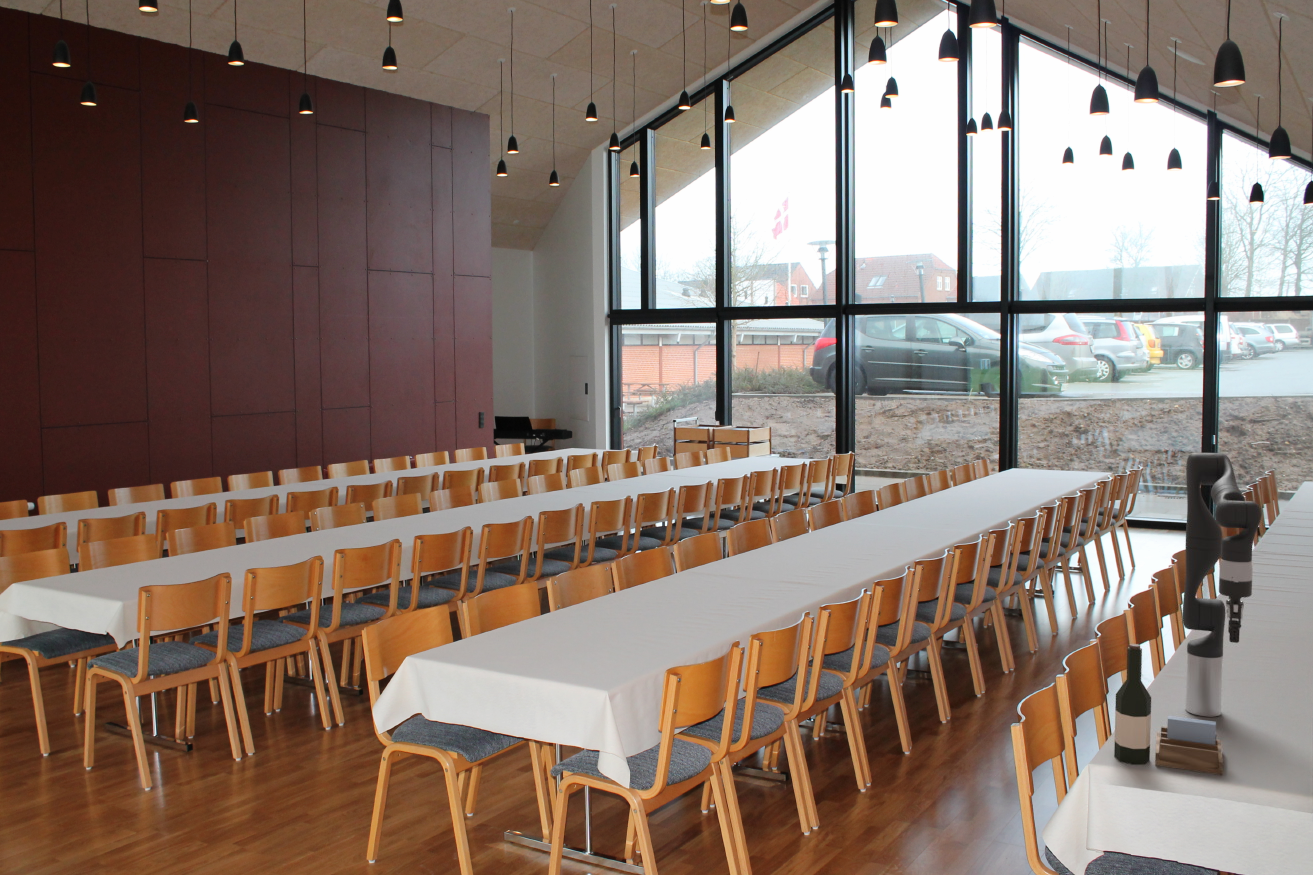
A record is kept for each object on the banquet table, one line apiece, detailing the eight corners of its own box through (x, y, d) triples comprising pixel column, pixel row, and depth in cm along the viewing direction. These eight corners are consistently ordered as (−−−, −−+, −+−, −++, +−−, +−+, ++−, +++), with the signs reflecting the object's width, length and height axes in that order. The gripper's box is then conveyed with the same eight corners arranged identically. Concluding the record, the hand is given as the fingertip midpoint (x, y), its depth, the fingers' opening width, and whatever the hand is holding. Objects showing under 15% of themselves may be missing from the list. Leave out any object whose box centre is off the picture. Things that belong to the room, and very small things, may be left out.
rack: (1156, 743, 281) (1157, 724, 280) (1220, 752, 274) (1220, 732, 274) (1155, 764, 267) (1155, 744, 266) (1222, 774, 260) (1222, 754, 259)
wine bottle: (1150, 766, 266) (1153, 650, 263) (1114, 762, 269) (1117, 647, 266) (1148, 754, 273) (1151, 642, 271) (1113, 750, 276) (1116, 639, 274)
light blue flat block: (1166, 748, 274) (1167, 715, 273) (1214, 755, 269) (1215, 721, 268) (1166, 752, 272) (1167, 718, 271) (1214, 759, 267) (1215, 724, 266)
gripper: (1218, 570, 281) (1216, 629, 282) (1219, 581, 268) (1217, 643, 269) (1250, 572, 277) (1248, 632, 279) (1253, 584, 265) (1251, 646, 266)
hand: (1233, 637), depth 274 cm, fingers open, 8 cm apart
